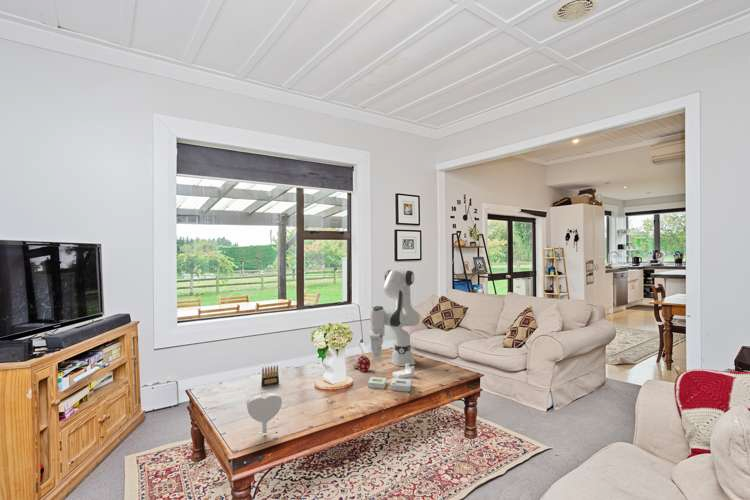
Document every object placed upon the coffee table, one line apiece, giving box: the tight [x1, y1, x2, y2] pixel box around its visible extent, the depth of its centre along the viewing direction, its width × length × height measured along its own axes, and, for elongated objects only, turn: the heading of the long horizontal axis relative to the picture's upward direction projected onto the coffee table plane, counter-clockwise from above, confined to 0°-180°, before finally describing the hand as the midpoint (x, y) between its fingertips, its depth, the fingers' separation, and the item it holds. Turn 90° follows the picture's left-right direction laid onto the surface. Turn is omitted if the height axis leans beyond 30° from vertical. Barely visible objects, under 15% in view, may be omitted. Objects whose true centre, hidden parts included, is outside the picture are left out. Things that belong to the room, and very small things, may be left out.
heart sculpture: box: [246, 392, 283, 434], centre depth 178 cm, size 16×5×18 cm, turn 116°
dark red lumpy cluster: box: [352, 355, 371, 373], centre depth 267 cm, size 11×11×15 cm
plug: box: [372, 345, 383, 363], centre depth 236 cm, size 3×5×11 cm, turn 79°
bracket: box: [391, 363, 415, 379], centre depth 253 cm, size 13×7×8 cm, turn 120°
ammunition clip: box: [260, 364, 280, 387], centre depth 238 cm, size 11×2×12 cm, turn 118°
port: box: [389, 377, 413, 394], centre depth 233 cm, size 12×12×5 cm
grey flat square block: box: [367, 376, 387, 390], centre depth 236 cm, size 10×10×4 cm
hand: (377, 354), depth 236 cm, fingers closed on plug, 3 cm apart
